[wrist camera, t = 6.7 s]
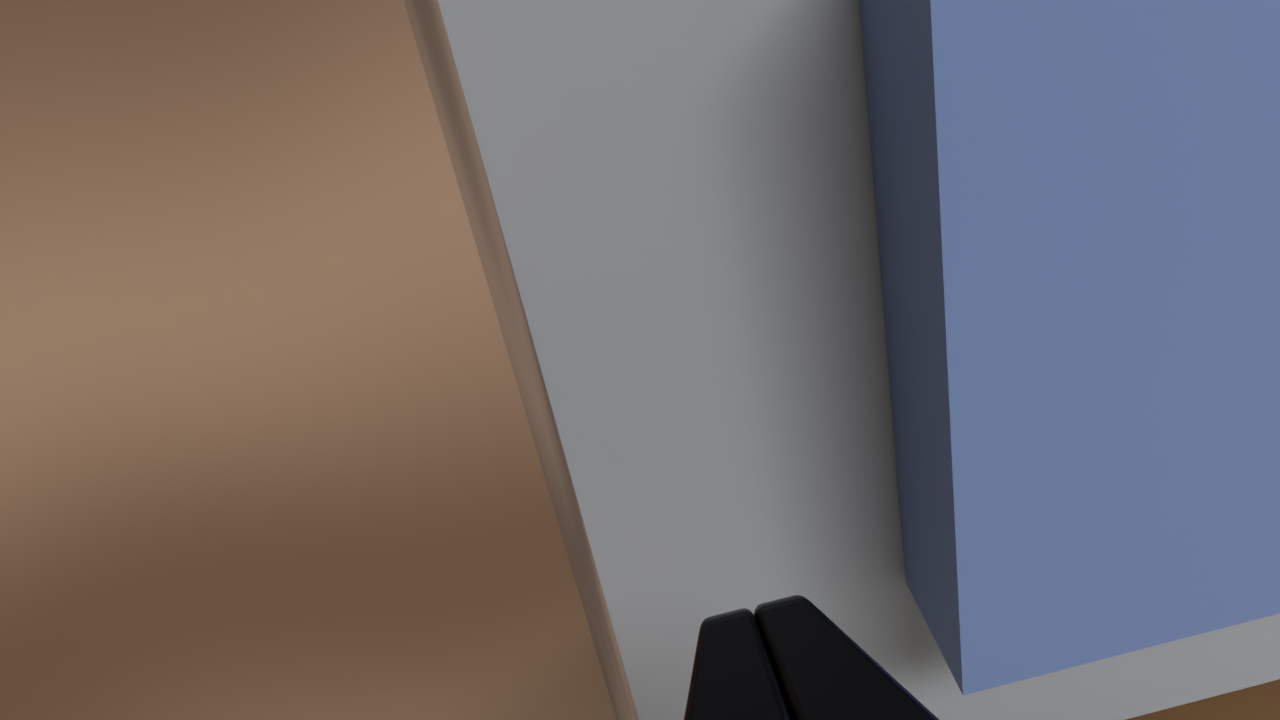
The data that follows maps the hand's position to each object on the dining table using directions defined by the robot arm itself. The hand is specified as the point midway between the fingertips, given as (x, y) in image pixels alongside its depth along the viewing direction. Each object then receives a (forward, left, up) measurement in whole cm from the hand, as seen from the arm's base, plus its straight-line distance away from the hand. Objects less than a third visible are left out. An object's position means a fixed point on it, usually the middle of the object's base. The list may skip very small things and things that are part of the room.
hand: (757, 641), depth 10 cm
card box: (0, -6, -3) cm, 6 cm away
